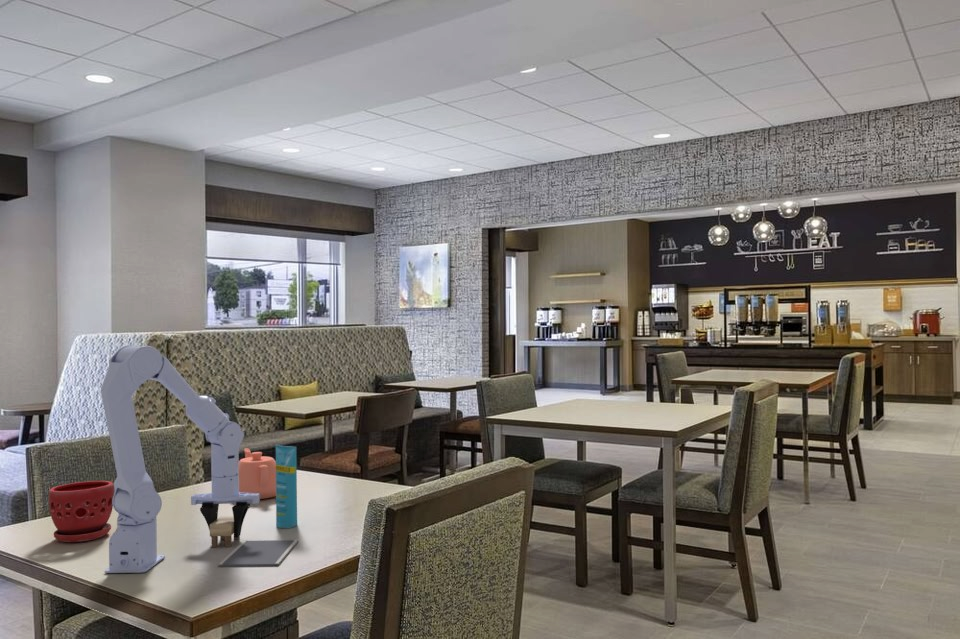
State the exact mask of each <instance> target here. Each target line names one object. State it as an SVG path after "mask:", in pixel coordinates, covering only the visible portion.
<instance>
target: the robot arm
mask: <svg viewBox="0 0 960 639" xmlns="http://www.w3.org/2000/svg"><path fill="white" fill-rule="evenodd" d="M148 380H152V381H156V382H159V383H160V384H161V385H163V387H165V389H167V390H168V391H169V392H170V393H171V394H172V395H173V396H174V397H175V398H176V399H178V401H179V402H181V403H182V404H183V405H184V406H185V415H186V416H187V417H188V418H189V419H190V420H191V421H192V422H193V423H194V424H195V425H196V426H197V427H198V428H199V429H200V431H202V432H203V433H204V434H205V439H206V441H207V442H208V443H210V448H211V450H210V452H211V454H210V458H211V459H210V460H211V461H210V464H211V467H210V468H211V469H210V470H211V475H210V476H211V492H209V493H195V494H192V495H191V496H190V505H191V506H196V505H201V507H200V508H199V511H200V513H201V514H202V516H203V518H204V519H205V521H206V522H205V523H206V525H207V527H208V530H209V531H210V524H211V523H213V522H214V521H215V520H217V519H218V518H219V517H218V515H219V505H222V504H223V505H224V504H225V505H228V504H233V506H232V508H231V509H232V514H233V515H232V516H234V534H233V539H234V538H237V537H239V536H241V533H242V528H243V523H244V520H245V517H246V515H247V512H248V511H249V508H250V506H251V504H252V505H258V504H259V503H260V500H261V499H259V493H243V492H239V461H240V460H239V457H240V456H239V453H240V445H241V443H242V441H243V440H244V436H245V433H244V432H243V431H242V428H241V426H240V424H239V423H237V422H235V421H230V415H229V414H228V413H227V412H226V413H225V412H223V411H222V410H221V408H219V406H217V404H216V402H217V400H216V399H215V398H214V397H211V396H208V395H199V394H198V393H197V392H196V390H194V389H193V387H192V386H191V385H190V384H189V383H188V382H187V381H186V379H185V378H184V377H183V376H182V374H180V373H179V372H178V371H177V369H176V368H175V367H174V365H172V363H171V362H170V360H169V358H167V357H166V356H164V355H162V354H161V352H160V351H159V350H158V349H157V348H156V347H153V346H152V345H151V346H150V345H144V346H135V345H124V346H121V347H120V348H119V349H118V350H116V352H115V353H114V354H113V355H112V356H111V357H109V359H108V369H107V371H106V374H105V377H104V379H103V383H102V386H101V388H100V394H101V400H102V406H103V409H104V410H103V411H104V416H105V420H106V424H107V429H108V434H109V440H110V446H111V451H112V455H113V462H114V465H115V471H116V478H115V480H114V482H113V485H114V496H113V500H112V504H113V509H114V511H115V512H116V513H117V514H118V515H117V518H116V529H115V531H114V532H113V533H112V535H111V536H110V538H109V541H108V555H109V557H108V560H109V561H108V563H109V564H108V565H109V566H108V568H106V569H105V570H104V573H105V574H117V573H118V574H125V573H128V574H129V573H130V574H132V573H140V574H141V573H146V572H147V571H149V570H150V569H152V568H153V567H154V566H156V565H157V564H158V563H160V562H161V561H162V560H164V559H165V558H166V556H165V554H158V544H157V543H158V541H157V540H158V538H157V537H158V535H157V532H158V530H157V528H158V527H157V526H158V525H157V517H158V515H159V514H160V511H161V510H162V504H163V503H162V502H163V501H162V498H161V496H160V494H159V493H158V492H157V491H156V489H155V485H154V481H153V480H152V478H151V476H150V475H149V474H148V471H147V469H146V464H145V459H144V453H143V448H142V444H141V438H140V432H139V428H138V427H139V426H138V422H137V417H136V411H135V407H134V402H133V395H134V394H135V392H136V391H137V390H138V389H139V388H140V386H142V384H144V383H145V382H147V381H148ZM234 504H235V505H234Z"/></svg>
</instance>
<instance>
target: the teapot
mask: <svg viewBox="0 0 960 639" xmlns="http://www.w3.org/2000/svg"><path fill="white" fill-rule="evenodd" d="M243 450H244V458H241V459H240V460H239V492H243V493H259V499H260V500H264V499H269V498H274V497H276V459H274V457H271V456H262V455H263V452H262V451H254V452H251V450H250V448H249V447H245V448H244V449H243Z"/></svg>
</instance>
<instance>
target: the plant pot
mask: <svg viewBox="0 0 960 639" xmlns="http://www.w3.org/2000/svg"><path fill="white" fill-rule="evenodd" d="M114 491H115V489H114V482H112V481H109V480H91V481H89V480H88V481H77V482H71V483H66V484H61V485H57V486H53V487H51V488H50V489H49V490H48V505H49V512H50V517H51V520H52V522H53V525H54V527H55V528H56V530H54V532H53V537H54V539H56V540H57V541H60V542H63V543H80V542H87V541H95V540H97V539H100V538H101V537H103V536H106V535H108V533H110V531H111V529H112V525H111V523H109V520H110V517H111V515H112V512H113V509H114V507H113V504H112V500H113V496H114Z"/></svg>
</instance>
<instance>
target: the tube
mask: <svg viewBox="0 0 960 639" xmlns="http://www.w3.org/2000/svg"><path fill="white" fill-rule="evenodd" d="M275 461H276V496H275V498H276V499H275V500H276V501H275V502H276V503H275V508H276V510H275V514H276V515H275V520H276V521H275V522H276V523H275V525H276V527H277V528H279V529H292V528H294V527H296V526H297V525H298V490H297V488H298V486H297V484H298V482H297V478H298V477H297V476H298V475H297V472H298V471H297V470H298V469H297V463H298V462H297V461H298V460H297V446H293V445H289V446H288V445H280V444H275Z"/></svg>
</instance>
